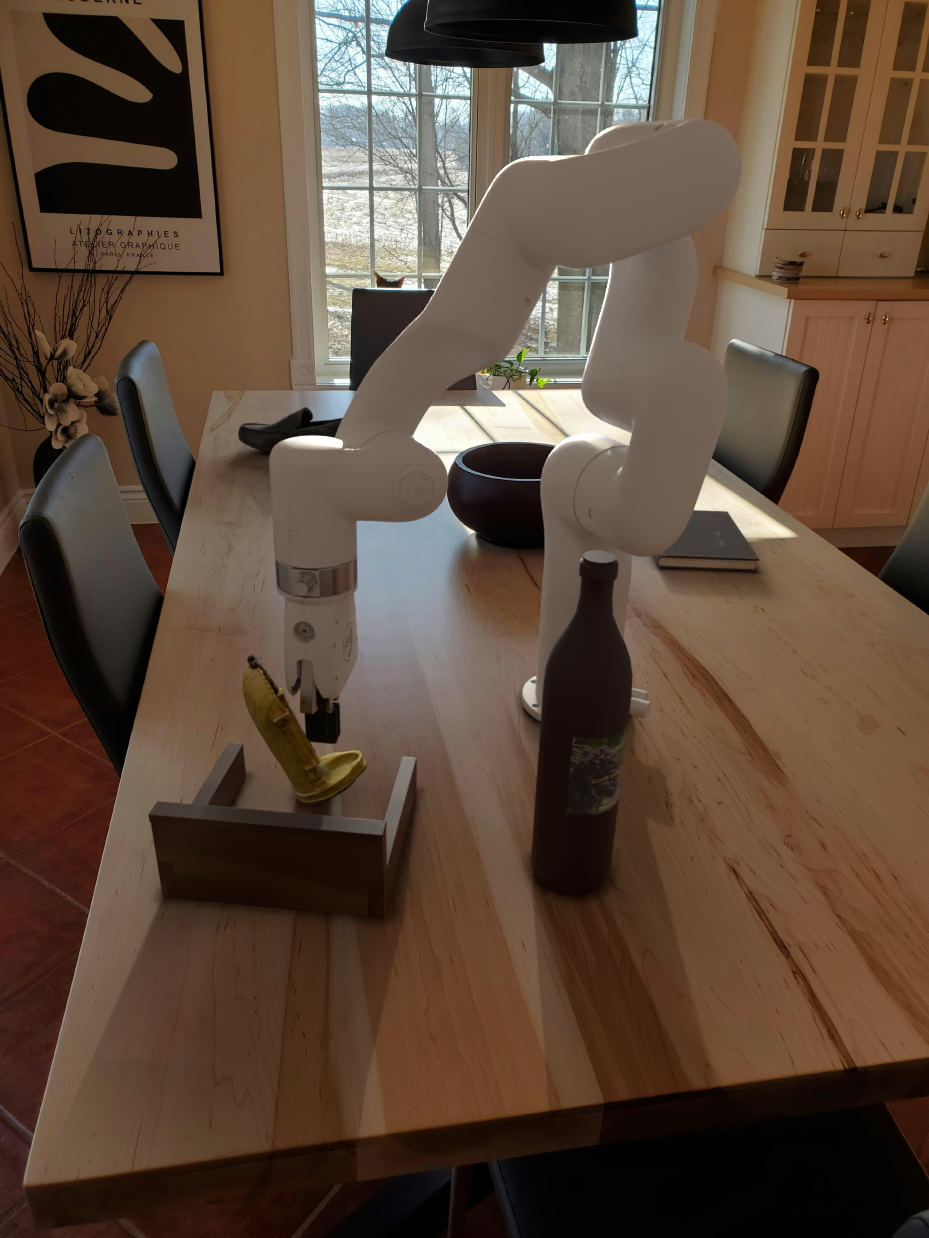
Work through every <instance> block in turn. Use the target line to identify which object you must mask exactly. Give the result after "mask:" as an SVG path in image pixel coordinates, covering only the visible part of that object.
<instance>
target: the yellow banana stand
mask: <svg viewBox="0 0 929 1238" xmlns="http://www.w3.org/2000/svg"><path fill="white" fill-rule="evenodd" d="M246 661H247V663H248V666H247V668H246V669H245V670H244V671H243V675H242V696H243V699H244V704H245V707H246V709H247V711H248V713H249V716H250V717H251V720H252V721H253V723H254V725H255V727H256V729H257V731H258V733H259V734H260V736H261V738H262V739H263V741H264V742H265V745H266V746H267V747H268V749H269V751H270V752H271V754H272V755H273V757H274V758H275V760H276V761H277V763H278V764H279V766H280V767H281V769H282V771H284V774H285V775H286V777H287V779H288V780H289V782H290V783H291V785H292V791H293V793H294V794H295V796H296V798H297V800H298V801H299V802H300V803H301V804H304V805H307V806H312V805H318V804H322V803H324V802H326V801H328V800H330V799H332V798H335V797H336V796H338V795H339V794H341V793H343V792H345V791H346V790H348V789H349V788H350V787H352V785H353V784H354V783H355V782H356V780H357V779H358V778H359V777H360V776H361V775H362V774H363V773H364V772H365V771H366V770H367V767H368V761H367V760H366V759H365V758H363V757H364V752H363V751H362V750H358V749H356V750H355V749H354V750H347V751H341V752H337V751H336V752H335V751H334V752H330V753H328V754H326V755H322V756H321V757H319V755H318V754H317V753H316V749H315V748H314V746H313V744H312V742H310V741H309V740H308V739H307V737H306V732H305V730H304V729H303V727H302V725H301V723H300V721H299V719H298V718H297V716H296V714H295V712H294V710H293V709H292V708H291V706H290V703H289V702H290V701H289V700H287V697H286V693H285V691H284V688H283V687H280V688H279V686H278V685H277V684H276V682H275V681H274V678H273V677H271V674H270V673H269V671H268V670H267V669H266V668H265V667H264V665H263V664H262V663H261V662H259V659H258V658H257V657H256V656H255V655H253V654H250V655H247V657H246Z"/></svg>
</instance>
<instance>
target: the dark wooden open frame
mask: <svg viewBox="0 0 929 1238" xmlns="http://www.w3.org/2000/svg"><path fill="white" fill-rule="evenodd" d="M417 763H418V758H417V757H410V756H401V759H400V762H399V765H398V769H397V772H396V776H395V779H394V782H393V785H392V789H391V792H390V796H389V799H388V802H387V806H386V810H385V812H384V816H383V819H382V820H379V819H369V818H355V817H346V816H345V817H344V816H333V815H322V814H321V815H320V814H311V813H298V812H289V811H276V810H265V809H253V808H242V807H231V805H232V803H233V802H234V800H235V798H236V796H237V794H238V792H239V791H240V788H241V787H242V785H243V783H244V781H245V779H246V778H247V770H246V761H245V750H244V744H243V743H238V742H237V743H236V742H228V743H227V745H226V746H225V748H224V749H223V751H222V753H221V755H220V756H219V758H218V759H217V761H216V763H215V764H214V766H213V768H212V769H211V771H210V772H209V774H208V776H207V777H206V779H205V781H204V782H203V784H202V785H201V787H200V789H199V790H198V791H197V794H196V795H195V796H194V798H193V800H192V801H191V803H186V802H185V803H182V802H171V801H159V800H157V801H156V802H155V804H154V805H153V807H152V808H151V810H150V811H149V812H148V815H147V817H148V822H149V823H150V827H151V834H152V838H153V840H152V841H153V846H154V852H155V858H156V865H157V871H158V878H159V883H160V890H161V896H162V897H163V898H166V899H167V898H169V899H179V900H189V901H199V902H209V903H222V904H231V905H241V906H251V907H252V906H253V907H262V908H274V909H282V910H295V911H304V912H315V913H325V914H335V915H346V916H355V917H356V916H357V917H365V918H378V919H385V917H386V914H387V910H388V906H389V901H390V898H391V893H392V890H393V887H394V882H395V878H396V873H397V870H398V867H399V862H400V860H401V859H400V858H401V854H402V850H403V845H404V842H405V838H406V835H407V831H408V827H409V823H410V818H411V816H412V815H411V814H412V812H413V811H412V810H413V807H414V803H415V800H416V799H415V798H416V794H417V792H418V783H417V782H418V777H417V775H418V773H417V772H418V769H417V768H418V764H417Z"/></svg>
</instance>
